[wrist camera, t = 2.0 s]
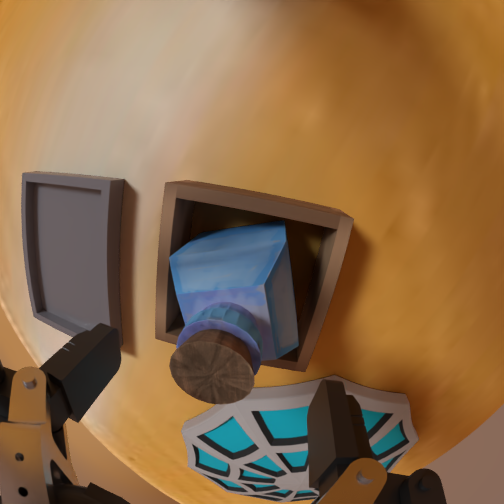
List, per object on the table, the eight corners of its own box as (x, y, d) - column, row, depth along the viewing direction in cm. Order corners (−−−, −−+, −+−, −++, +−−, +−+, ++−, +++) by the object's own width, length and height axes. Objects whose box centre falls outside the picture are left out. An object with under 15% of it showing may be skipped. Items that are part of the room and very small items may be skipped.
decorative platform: (139, 409, 28) (124, 437, 23) (379, 322, 21) (398, 356, 16) (261, 500, 34) (258, 521, 29) (421, 453, 27) (428, 476, 22)
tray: (36, 171, 20) (22, 172, 18) (124, 179, 20) (110, 180, 18) (44, 309, 25) (33, 316, 23) (123, 344, 24) (113, 354, 22)
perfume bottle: (200, 232, 20) (110, 305, 9) (284, 220, 19) (288, 290, 8) (217, 307, 22) (164, 421, 10) (295, 299, 21) (303, 423, 9)
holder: (187, 180, 19) (165, 182, 15) (339, 209, 19) (354, 219, 15) (173, 313, 22) (155, 338, 19) (302, 341, 22) (305, 372, 18)
